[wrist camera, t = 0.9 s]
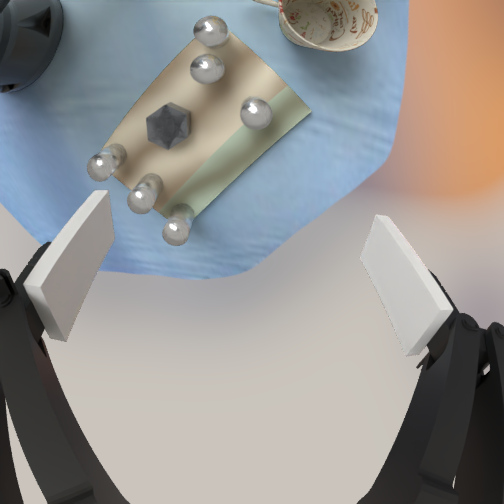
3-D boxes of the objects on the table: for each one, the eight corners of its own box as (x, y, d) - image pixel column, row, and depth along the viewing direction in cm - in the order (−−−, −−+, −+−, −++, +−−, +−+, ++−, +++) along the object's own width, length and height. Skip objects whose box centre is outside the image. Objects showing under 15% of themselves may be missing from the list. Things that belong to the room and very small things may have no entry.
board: (98, 157, 32) (94, 160, 31) (216, 21, 24) (215, 19, 23) (183, 226, 39) (181, 230, 38) (309, 109, 30) (311, 111, 29)
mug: (328, 67, 27) (361, 67, 19) (221, 31, 25) (212, 15, 17) (350, 10, 23) (389, -6, 15) (245, -27, 20) (246, -61, 12)
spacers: (96, 157, 31) (77, 171, 27) (215, 19, 23) (210, 10, 19) (184, 228, 38) (177, 250, 34) (311, 111, 29) (323, 118, 25)
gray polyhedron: (144, 131, 30) (137, 136, 28) (160, 97, 28) (154, 99, 26) (182, 149, 32) (178, 155, 30) (200, 116, 29) (197, 119, 27)
